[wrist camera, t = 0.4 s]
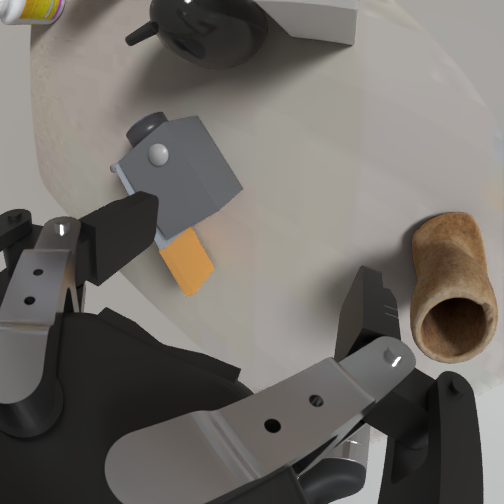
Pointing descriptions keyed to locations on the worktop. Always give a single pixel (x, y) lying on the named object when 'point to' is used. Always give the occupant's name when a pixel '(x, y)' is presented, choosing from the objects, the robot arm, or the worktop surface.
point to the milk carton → (315, 18)
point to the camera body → (178, 170)
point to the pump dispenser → (206, 30)
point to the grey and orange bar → (178, 250)
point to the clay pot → (451, 290)
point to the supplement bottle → (30, 11)
